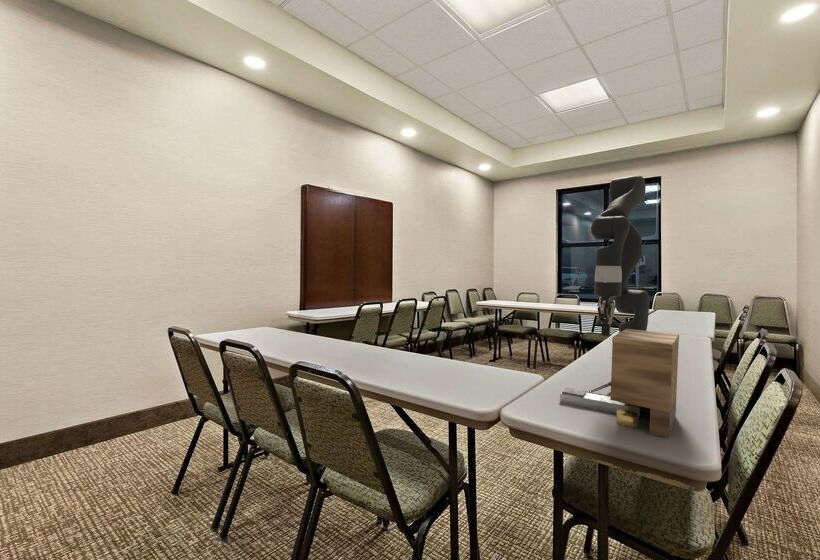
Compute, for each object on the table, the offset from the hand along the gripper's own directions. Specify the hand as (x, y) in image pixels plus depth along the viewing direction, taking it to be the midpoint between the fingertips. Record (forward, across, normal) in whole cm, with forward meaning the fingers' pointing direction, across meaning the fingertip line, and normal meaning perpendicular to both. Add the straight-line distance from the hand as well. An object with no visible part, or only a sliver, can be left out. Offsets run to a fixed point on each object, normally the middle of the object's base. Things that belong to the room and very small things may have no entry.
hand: (605, 335), depth 121 cm
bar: (+21, +8, +1) cm, 22 cm away
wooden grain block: (+20, +12, +13) cm, 27 cm away
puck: (+20, +17, +10) cm, 28 cm away
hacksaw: (+20, -11, +1) cm, 23 cm away
